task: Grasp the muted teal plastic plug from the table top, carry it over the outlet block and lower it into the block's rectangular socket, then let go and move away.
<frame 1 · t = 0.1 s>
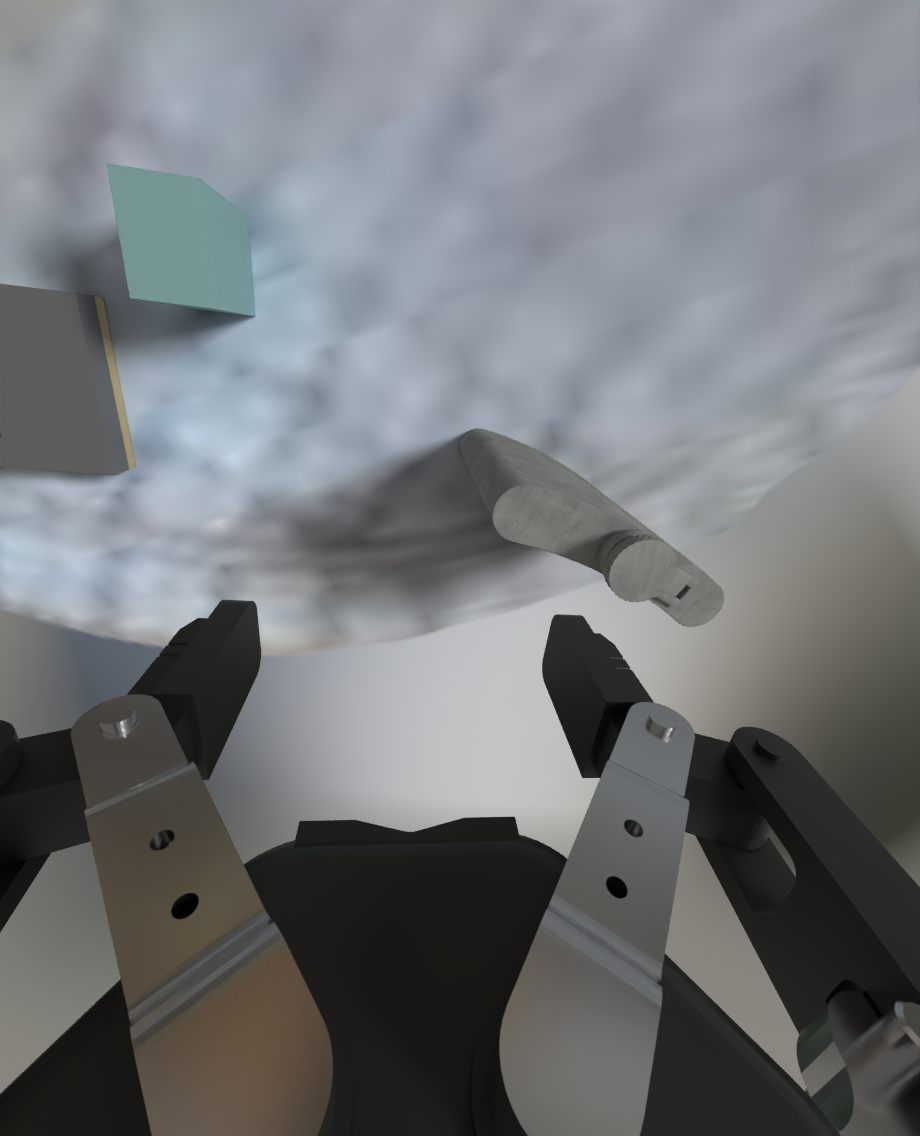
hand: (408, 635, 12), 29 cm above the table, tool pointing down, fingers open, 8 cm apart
plug: (218, 263, 32), on the table
hip flask: (540, 475, 41), on the table
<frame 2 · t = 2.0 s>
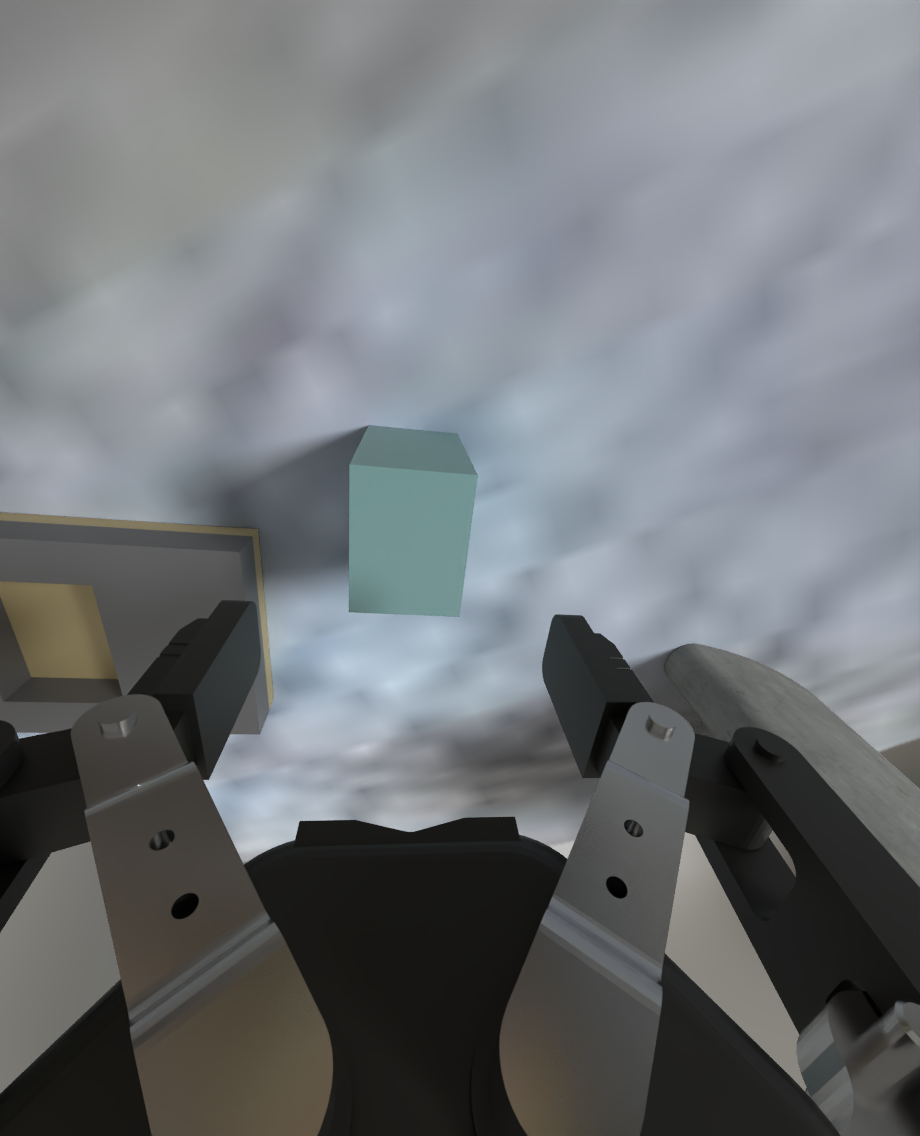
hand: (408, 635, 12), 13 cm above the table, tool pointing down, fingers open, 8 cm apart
outlet block: (83, 615, 26), on the table
plug: (410, 486, 24), on the table
hip flask: (751, 684, 34), on the table
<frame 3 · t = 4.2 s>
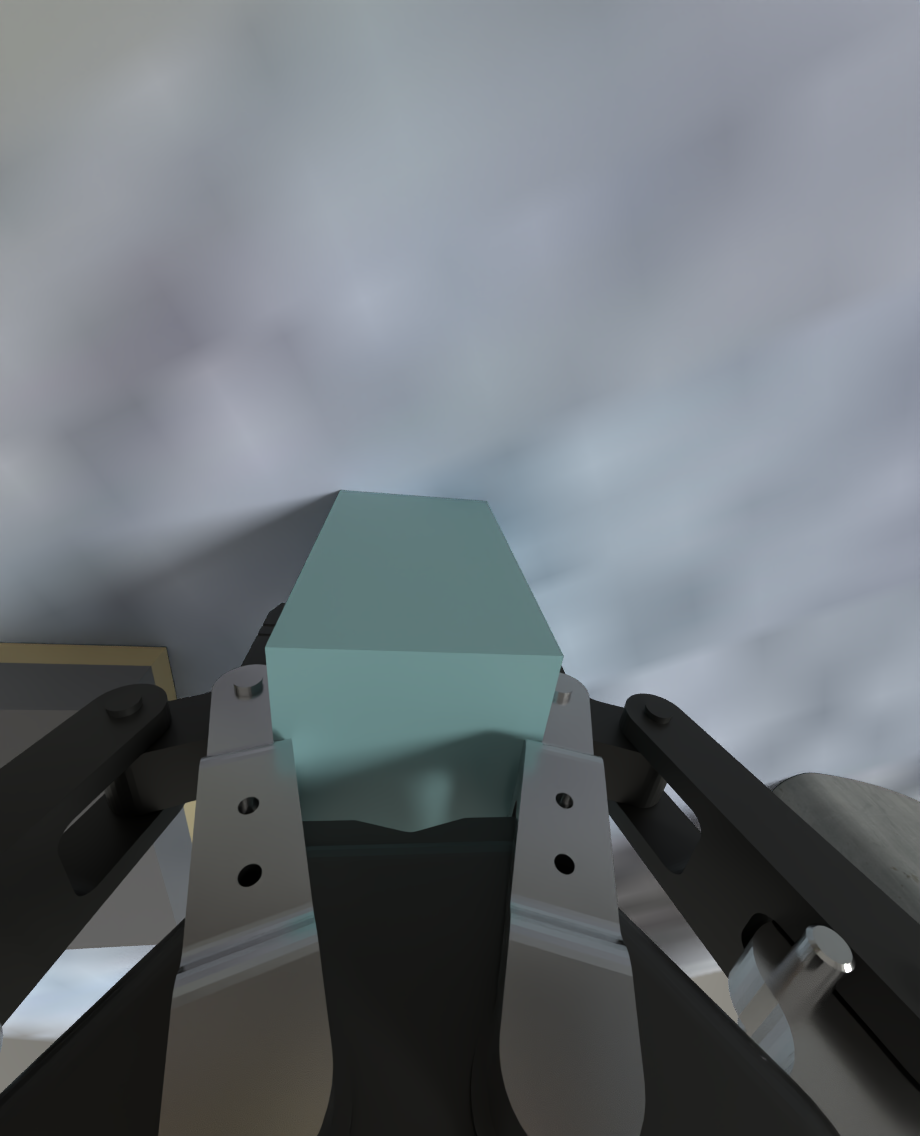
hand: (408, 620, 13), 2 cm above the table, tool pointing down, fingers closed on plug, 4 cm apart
plug: (409, 582, 15), on the table, touching gripper
hip flask: (878, 815, 25), on the table
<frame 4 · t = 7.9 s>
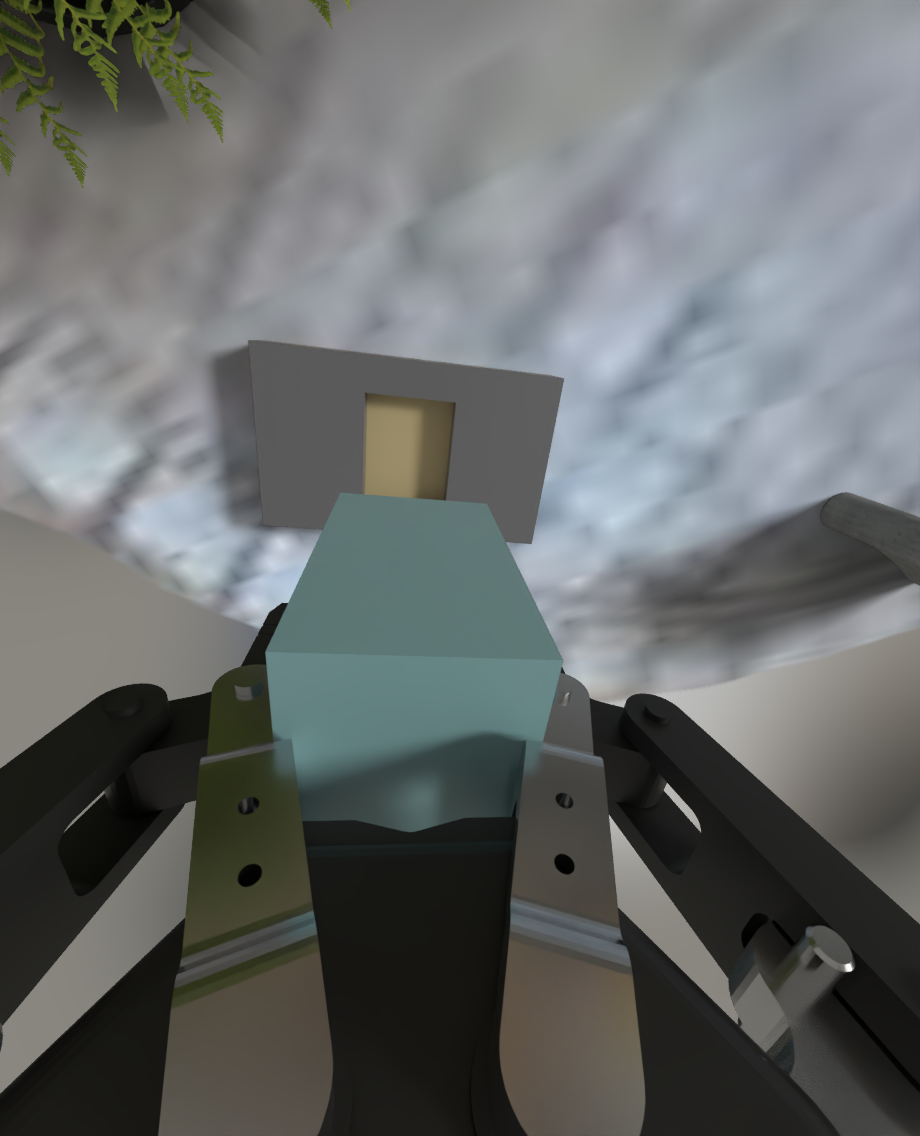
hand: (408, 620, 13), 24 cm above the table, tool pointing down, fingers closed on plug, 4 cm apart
outlet block: (407, 445, 34), on the table
plug: (409, 584, 15), point 21 cm above the table, touching gripper
hip flask: (884, 534, 42), on the table
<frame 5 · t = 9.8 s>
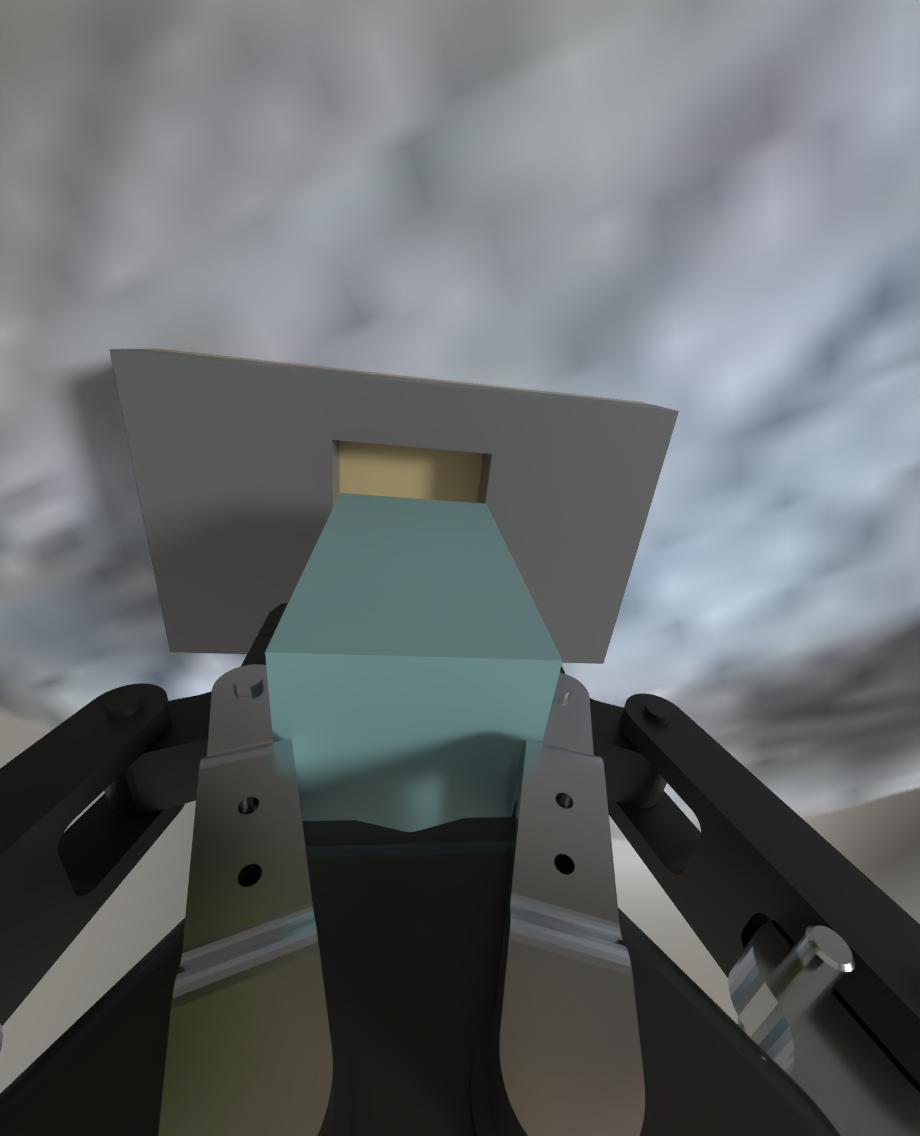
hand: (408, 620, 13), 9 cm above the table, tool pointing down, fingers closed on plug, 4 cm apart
outlet block: (408, 515, 21), on the table
plug: (409, 584, 15), point 7 cm above the table, touching gripper
when the fingers open (4 cm above the table, at t = 11.6 s): plug stays where it is, resting on outlet block.
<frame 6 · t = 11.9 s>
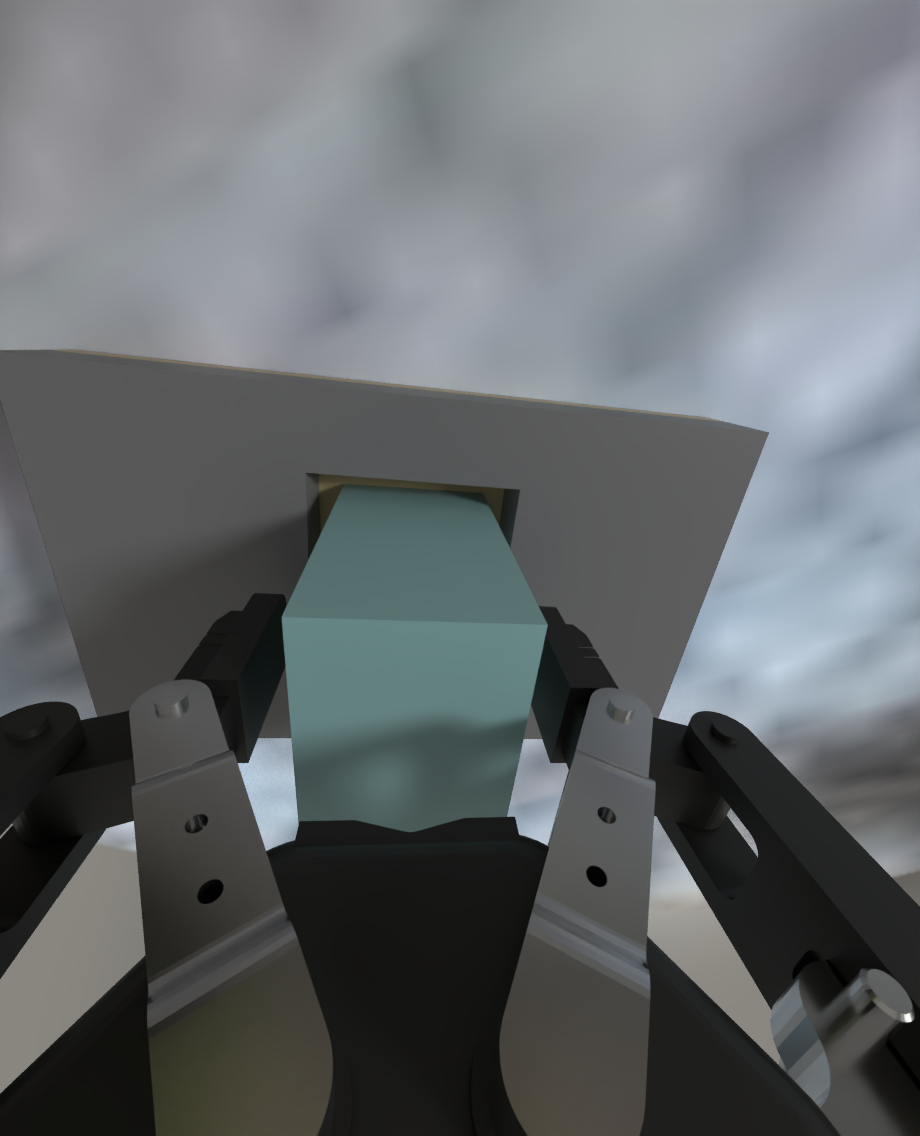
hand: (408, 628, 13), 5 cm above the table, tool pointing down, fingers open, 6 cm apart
outlet block: (408, 558, 17), on the table
plug: (410, 570, 16), point 1 cm above the table, touching outlet block
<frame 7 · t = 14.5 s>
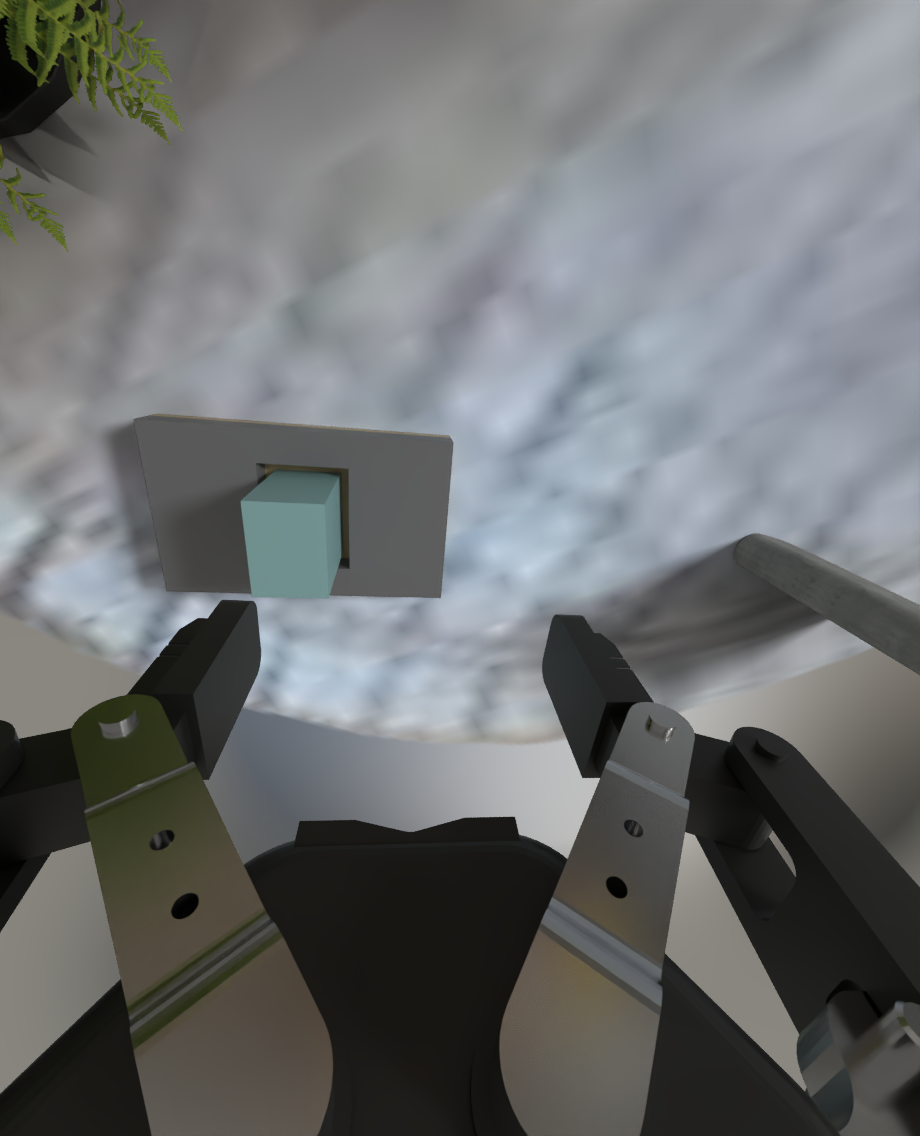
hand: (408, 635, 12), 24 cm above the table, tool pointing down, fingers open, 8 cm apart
outlet block: (313, 506, 35), on the table
plug: (311, 511, 34), point 1 cm above the table, touching outlet block
hip flask: (799, 571, 43), on the table
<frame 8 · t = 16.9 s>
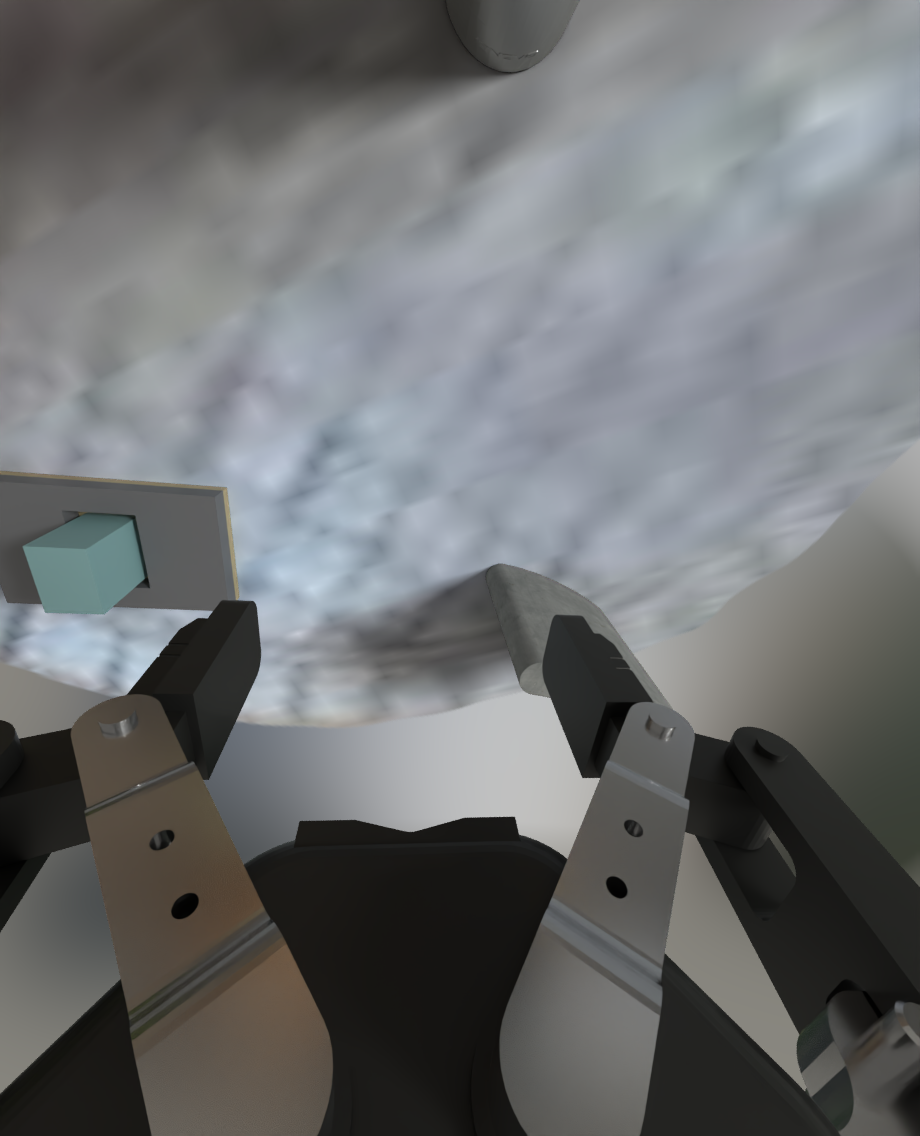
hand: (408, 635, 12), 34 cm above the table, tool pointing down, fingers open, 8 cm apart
outlet block: (126, 539, 45), on the table
plug: (121, 543, 44), point 1 cm above the table, touching outlet block
hip flask: (548, 593, 53), on the table
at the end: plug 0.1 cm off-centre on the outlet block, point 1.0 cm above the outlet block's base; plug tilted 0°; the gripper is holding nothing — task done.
